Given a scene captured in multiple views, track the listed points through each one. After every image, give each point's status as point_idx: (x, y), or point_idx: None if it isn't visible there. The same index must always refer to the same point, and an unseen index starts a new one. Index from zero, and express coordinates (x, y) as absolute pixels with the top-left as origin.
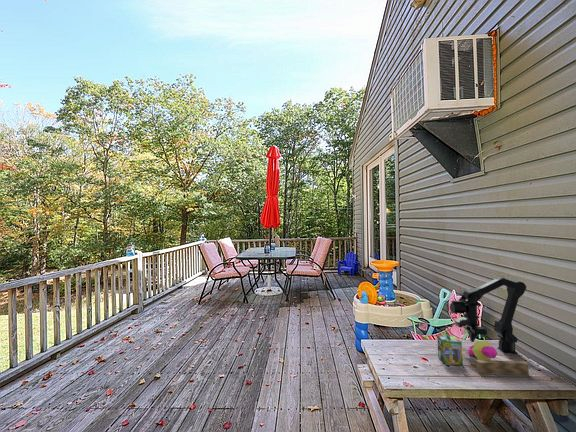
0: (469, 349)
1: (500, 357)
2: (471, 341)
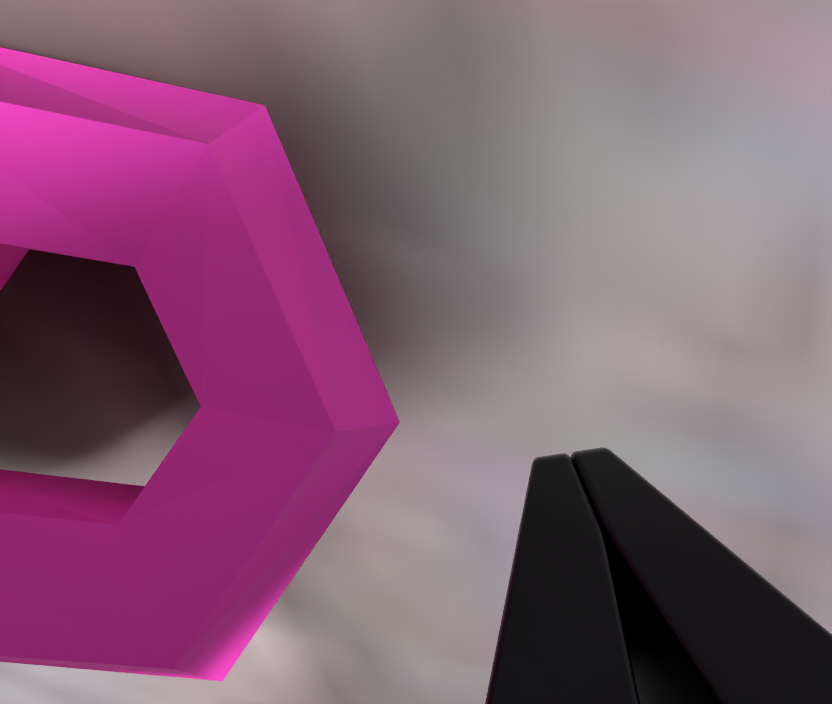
0: (3, 130)
1: None
2: (541, 460)
